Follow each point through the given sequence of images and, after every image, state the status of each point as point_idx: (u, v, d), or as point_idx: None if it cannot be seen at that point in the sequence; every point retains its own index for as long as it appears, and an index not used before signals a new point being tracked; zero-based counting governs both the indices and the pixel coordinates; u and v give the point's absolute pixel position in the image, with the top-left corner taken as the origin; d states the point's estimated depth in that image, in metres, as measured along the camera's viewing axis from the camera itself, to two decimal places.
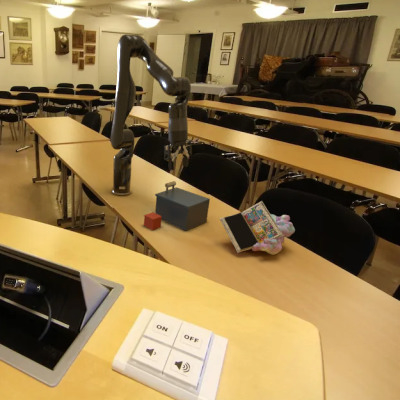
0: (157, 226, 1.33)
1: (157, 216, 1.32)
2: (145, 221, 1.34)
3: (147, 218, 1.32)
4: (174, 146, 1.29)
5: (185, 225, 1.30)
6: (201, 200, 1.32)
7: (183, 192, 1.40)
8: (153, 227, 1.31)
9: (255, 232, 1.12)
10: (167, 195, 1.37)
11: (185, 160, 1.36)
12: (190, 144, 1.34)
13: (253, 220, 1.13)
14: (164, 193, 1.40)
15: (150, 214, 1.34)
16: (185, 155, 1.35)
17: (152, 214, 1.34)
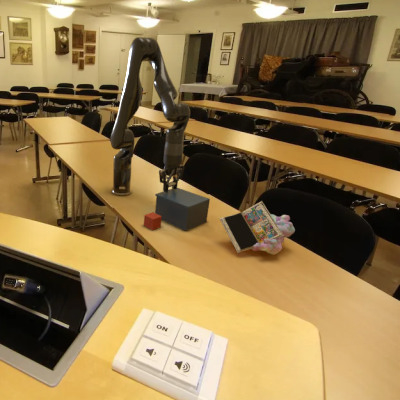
0: (157, 226, 1.33)
1: (157, 216, 1.32)
2: (145, 221, 1.34)
3: (147, 218, 1.32)
4: (168, 169, 1.34)
5: (185, 225, 1.30)
6: (201, 200, 1.32)
7: (183, 192, 1.40)
8: (153, 227, 1.31)
9: (255, 232, 1.12)
10: (167, 196, 1.37)
11: None
12: (183, 168, 1.40)
13: (253, 220, 1.13)
14: (164, 193, 1.40)
15: (150, 214, 1.34)
16: (175, 178, 1.41)
17: (152, 214, 1.34)
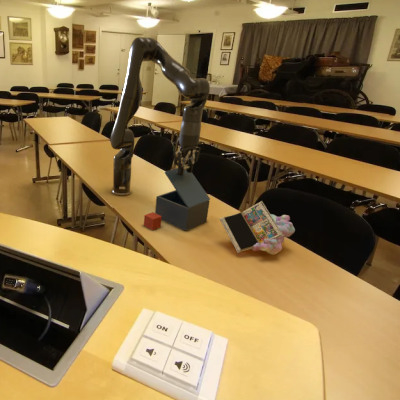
0: (157, 226, 1.33)
1: (157, 216, 1.32)
2: (145, 221, 1.34)
3: (147, 218, 1.32)
4: (184, 151, 1.26)
5: (185, 225, 1.30)
6: (202, 199, 1.31)
7: (191, 178, 1.35)
8: (153, 227, 1.31)
9: (255, 232, 1.12)
10: (175, 179, 1.31)
11: (190, 166, 1.32)
12: (199, 150, 1.31)
13: (253, 220, 1.13)
14: (173, 173, 1.33)
15: (150, 214, 1.34)
16: (190, 161, 1.32)
17: (152, 214, 1.34)
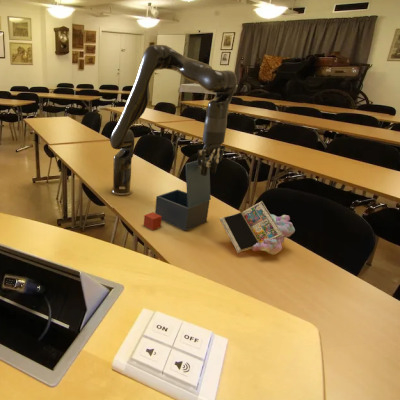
0: (157, 226, 1.33)
1: (157, 216, 1.32)
2: (145, 221, 1.34)
3: (147, 218, 1.32)
4: (208, 149, 1.16)
5: (185, 225, 1.30)
6: (204, 199, 1.31)
7: None
8: (153, 227, 1.31)
9: (255, 232, 1.12)
10: (191, 175, 1.24)
11: (214, 166, 1.23)
12: (223, 149, 1.22)
13: (253, 220, 1.13)
14: (193, 167, 1.24)
15: (150, 214, 1.34)
16: (214, 160, 1.23)
17: (152, 214, 1.34)
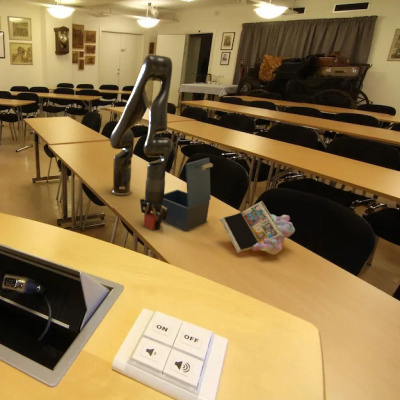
0: None
1: None
2: (145, 221, 1.34)
3: (147, 218, 1.32)
4: (145, 201, 1.33)
5: (185, 225, 1.30)
6: (204, 199, 1.31)
7: (205, 174, 1.29)
8: (153, 227, 1.31)
9: (255, 232, 1.12)
10: (191, 175, 1.24)
11: None
12: (162, 211, 1.26)
13: (253, 220, 1.13)
14: (193, 167, 1.24)
15: (150, 214, 1.34)
16: None
17: (152, 214, 1.34)
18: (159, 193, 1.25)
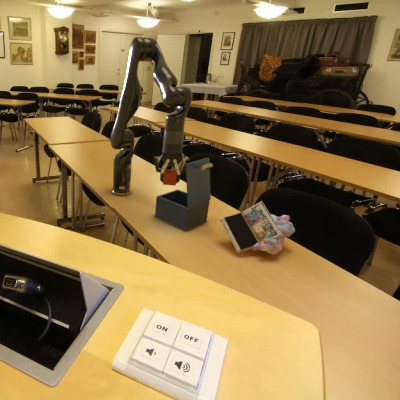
0: None
1: (174, 171, 1.29)
2: (165, 179, 1.28)
3: (169, 175, 1.27)
4: (162, 158, 1.27)
5: (185, 225, 1.30)
6: (204, 199, 1.31)
7: (205, 174, 1.29)
8: (175, 182, 1.28)
9: (255, 232, 1.12)
10: (191, 175, 1.24)
11: None
12: (187, 162, 1.25)
13: (253, 220, 1.13)
14: (193, 167, 1.24)
15: (166, 171, 1.29)
16: None
17: (168, 170, 1.30)
18: (182, 144, 1.23)
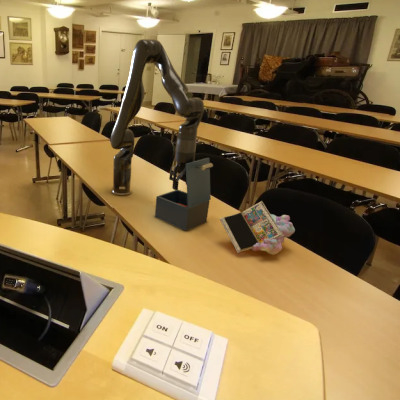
0: None
1: (180, 204, 1.40)
2: None
3: None
4: (180, 167, 1.29)
5: (185, 225, 1.30)
6: (204, 199, 1.31)
7: (205, 174, 1.29)
8: None
9: (255, 232, 1.12)
10: (191, 175, 1.24)
11: None
12: None
13: (253, 220, 1.13)
14: (193, 167, 1.24)
15: None
16: None
17: None
18: None
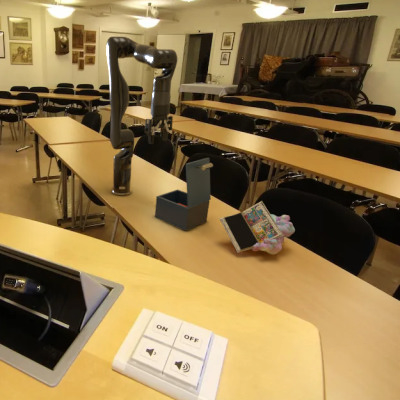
0: None
1: (180, 204, 1.40)
2: None
3: None
4: (155, 120, 1.31)
5: (185, 225, 1.30)
6: (204, 199, 1.31)
7: (205, 174, 1.29)
8: None
9: (255, 232, 1.12)
10: (191, 175, 1.24)
11: (165, 134, 1.38)
12: (171, 119, 1.36)
13: (253, 220, 1.13)
14: (193, 167, 1.24)
15: None
16: (165, 129, 1.38)
17: None
18: None
